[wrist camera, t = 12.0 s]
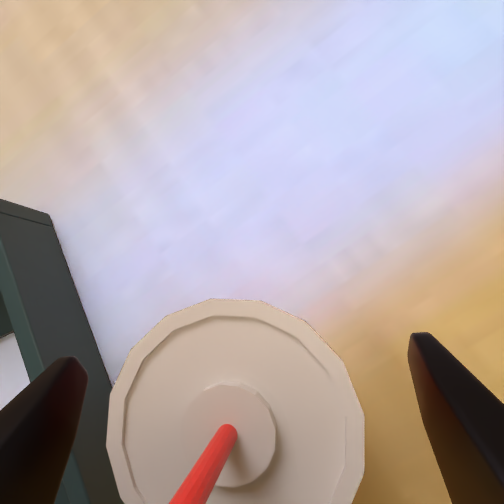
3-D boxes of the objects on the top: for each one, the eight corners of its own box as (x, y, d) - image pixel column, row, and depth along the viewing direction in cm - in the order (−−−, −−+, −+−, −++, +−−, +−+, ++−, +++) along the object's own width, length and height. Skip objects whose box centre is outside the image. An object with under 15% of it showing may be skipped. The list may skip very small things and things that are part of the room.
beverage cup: (288, 272, 18) (226, 187, 4) (362, 387, 17) (635, 834, 3) (182, 339, 18) (-218, 477, 4) (247, 456, 17) (-9, 1150, 3)
